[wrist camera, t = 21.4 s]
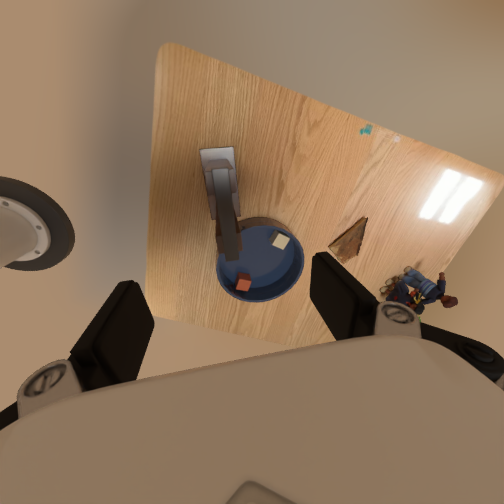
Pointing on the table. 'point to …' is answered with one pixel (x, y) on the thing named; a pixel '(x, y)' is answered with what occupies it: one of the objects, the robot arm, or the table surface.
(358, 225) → the shard
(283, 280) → the bowl
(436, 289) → the doll family
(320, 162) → the table surface
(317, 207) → the table surface
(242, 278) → the terracotta block
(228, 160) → the stick stand
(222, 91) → the table surface
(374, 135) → the table surface
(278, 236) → the cream block
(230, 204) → the stirring stick
